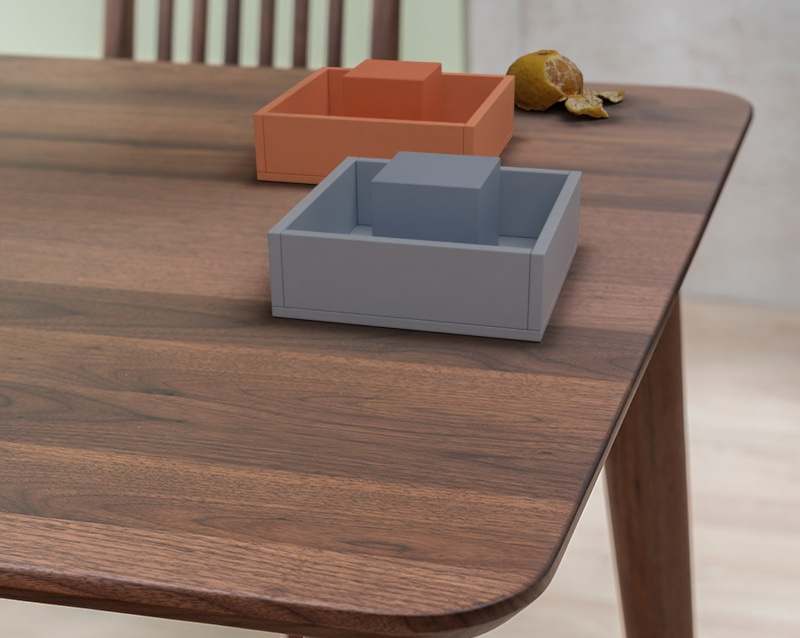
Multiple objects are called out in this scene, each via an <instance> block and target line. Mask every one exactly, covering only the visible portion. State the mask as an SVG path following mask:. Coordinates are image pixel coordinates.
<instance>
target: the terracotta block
mask: <svg viewBox="0 0 800 638" xmlns="http://www.w3.org/2000/svg"><path fill="white" fill-rule="evenodd" d="M442 67H443V65H442V62H437V61H436V62H435V61H415V60H392V59H391V60H390V59H389V60H388V59H368V58H367V59H364V60H363V61H361V62H360V63H359V64H357V65H356V66H355V67H352V68H353V69H352V70H351V71H349V72H348V73H347V74H345V75H344V76H343V106H344V117H358V118H376V119H394V120H412V121H430V122H441V111H442V72H443V71H442V70H443V68H442Z"/></svg>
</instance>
